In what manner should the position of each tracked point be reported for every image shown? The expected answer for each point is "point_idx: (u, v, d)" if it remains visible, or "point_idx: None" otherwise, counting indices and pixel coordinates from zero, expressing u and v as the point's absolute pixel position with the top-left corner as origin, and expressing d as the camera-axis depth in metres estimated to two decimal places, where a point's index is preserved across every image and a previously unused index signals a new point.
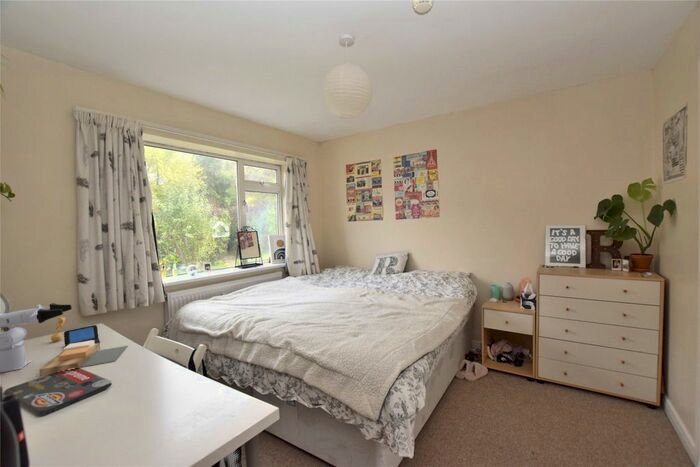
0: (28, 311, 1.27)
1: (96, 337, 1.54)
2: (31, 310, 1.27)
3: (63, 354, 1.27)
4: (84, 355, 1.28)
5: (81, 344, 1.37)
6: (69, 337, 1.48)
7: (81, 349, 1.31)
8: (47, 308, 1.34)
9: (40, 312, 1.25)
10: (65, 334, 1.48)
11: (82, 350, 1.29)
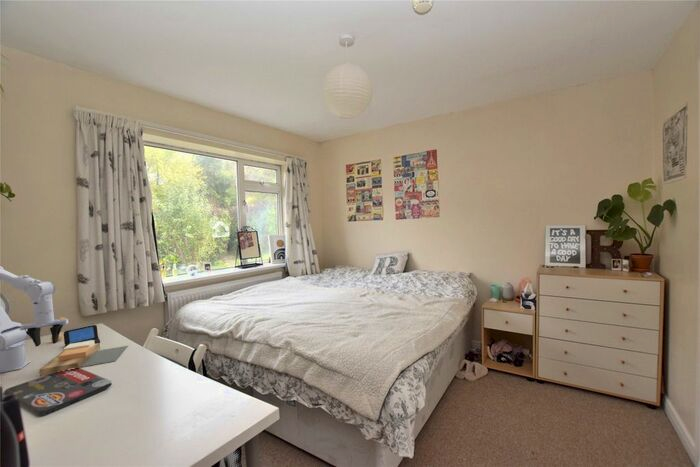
0: (35, 318, 1.23)
1: (96, 337, 1.54)
2: (36, 320, 1.23)
3: (63, 354, 1.27)
4: (84, 355, 1.28)
5: (81, 344, 1.37)
6: (68, 337, 1.48)
7: (81, 349, 1.31)
8: (57, 322, 1.26)
9: None
10: (65, 334, 1.48)
11: (82, 350, 1.29)
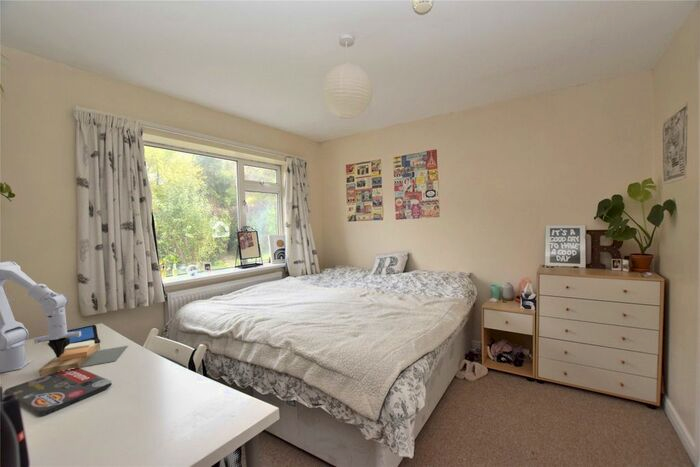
0: (49, 331, 1.24)
1: (96, 337, 1.54)
2: (50, 333, 1.24)
3: (64, 354, 1.27)
4: (85, 355, 1.28)
5: (81, 344, 1.37)
6: None
7: (82, 349, 1.32)
8: (71, 335, 1.28)
9: None
10: None
11: (83, 350, 1.30)
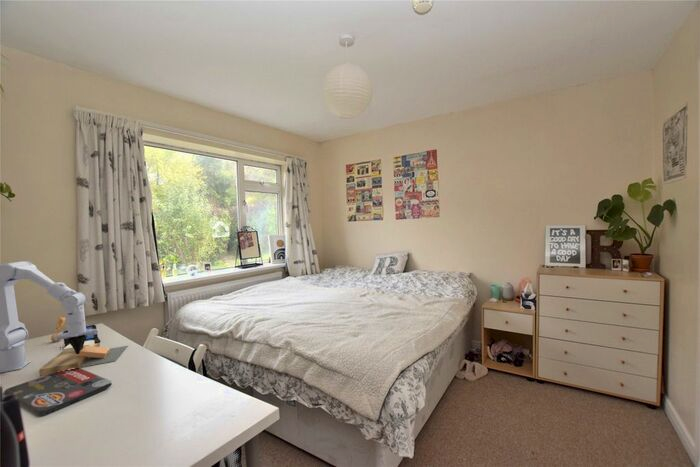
0: (69, 329, 1.27)
1: (95, 337, 1.54)
2: (70, 330, 1.27)
3: (84, 350, 1.29)
4: (103, 356, 1.31)
5: None
6: None
7: (100, 348, 1.34)
8: (89, 332, 1.30)
9: None
10: None
11: (102, 351, 1.32)
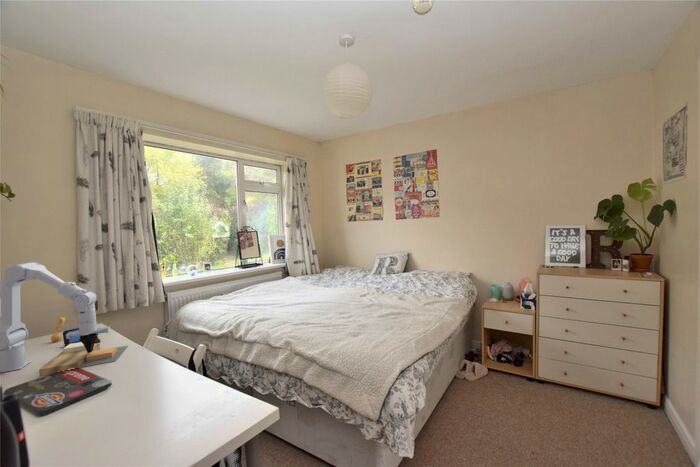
0: (80, 327, 1.28)
1: None
2: (81, 329, 1.28)
3: (90, 354, 1.30)
4: (110, 355, 1.32)
5: (81, 344, 1.37)
6: None
7: (106, 349, 1.35)
8: (100, 331, 1.32)
9: None
10: (64, 334, 1.48)
11: (108, 351, 1.33)
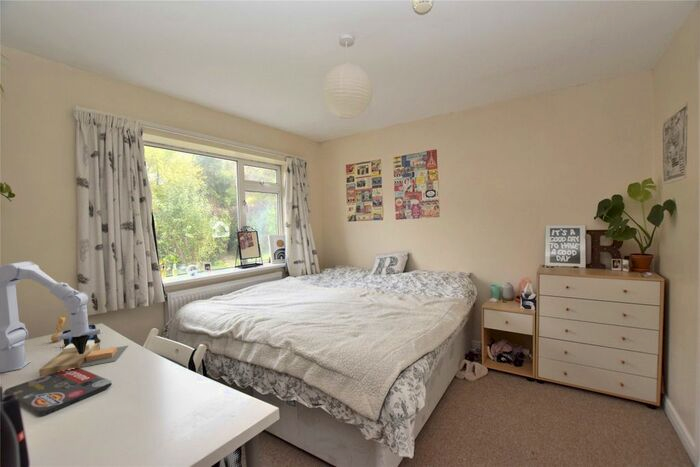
0: (72, 328, 1.27)
1: (95, 336, 1.55)
2: (72, 330, 1.27)
3: (90, 354, 1.30)
4: (110, 355, 1.32)
5: None
6: None
7: (106, 349, 1.35)
8: (92, 332, 1.31)
9: None
10: None
11: (108, 351, 1.33)
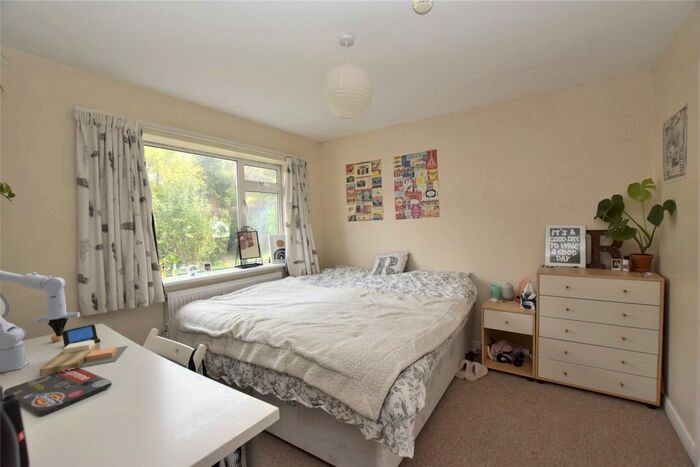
0: (49, 311, 1.30)
1: (95, 336, 1.55)
2: (50, 313, 1.30)
3: (90, 354, 1.30)
4: (110, 355, 1.32)
5: (81, 344, 1.37)
6: (67, 336, 1.48)
7: (106, 349, 1.35)
8: (70, 315, 1.34)
9: None
10: (64, 334, 1.48)
11: (108, 351, 1.33)
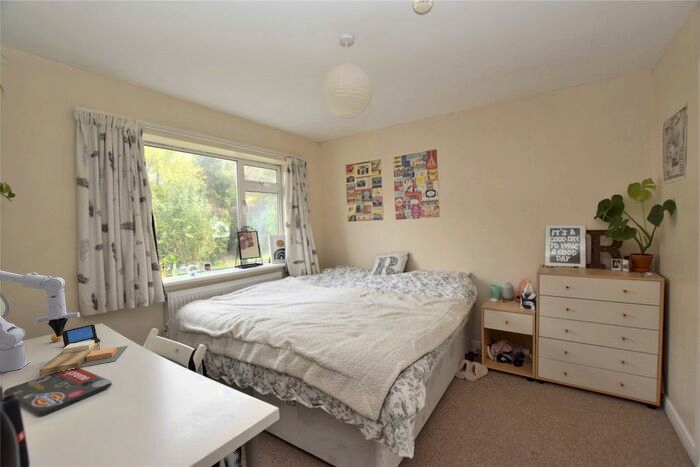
0: (49, 311, 1.30)
1: (95, 336, 1.55)
2: (50, 313, 1.30)
3: (90, 354, 1.30)
4: (110, 355, 1.32)
5: (81, 344, 1.37)
6: (67, 336, 1.48)
7: (106, 349, 1.35)
8: (70, 315, 1.34)
9: None
10: (63, 334, 1.48)
11: (108, 351, 1.33)
